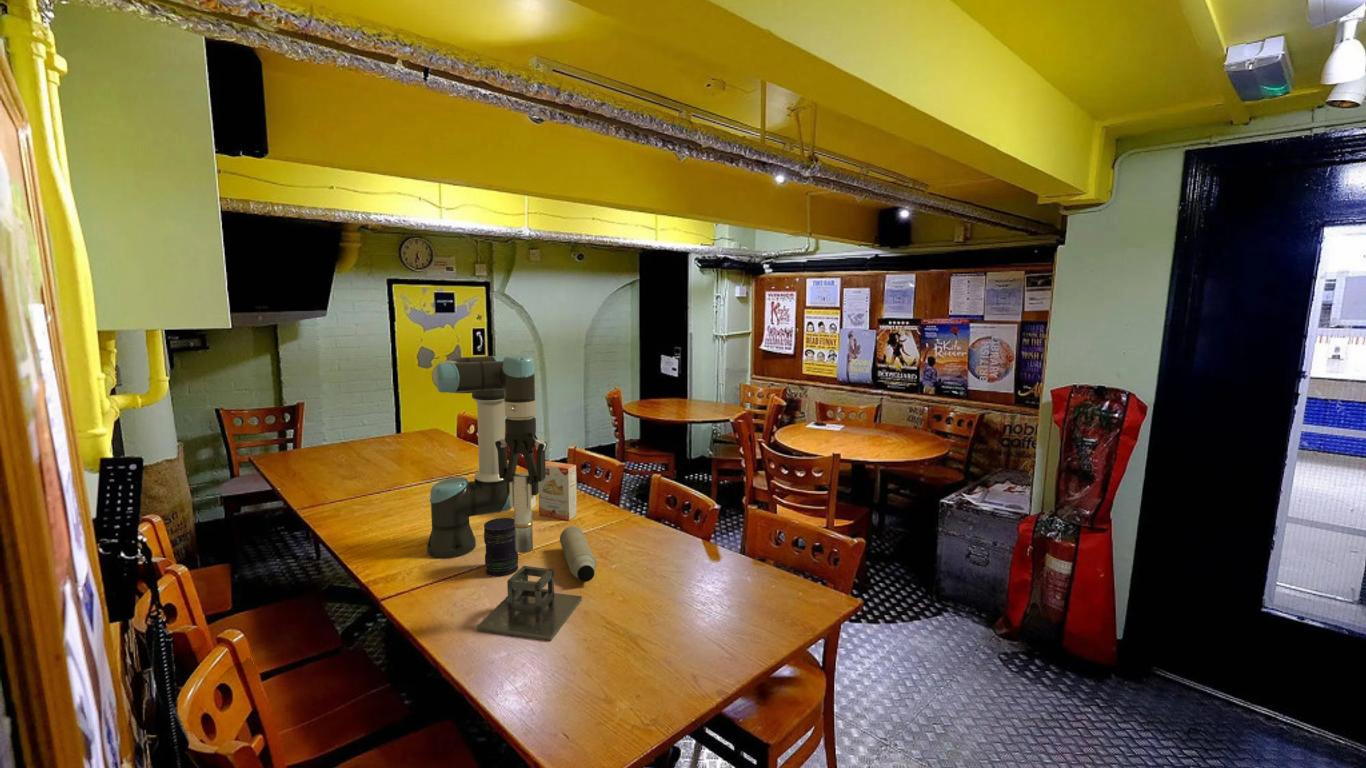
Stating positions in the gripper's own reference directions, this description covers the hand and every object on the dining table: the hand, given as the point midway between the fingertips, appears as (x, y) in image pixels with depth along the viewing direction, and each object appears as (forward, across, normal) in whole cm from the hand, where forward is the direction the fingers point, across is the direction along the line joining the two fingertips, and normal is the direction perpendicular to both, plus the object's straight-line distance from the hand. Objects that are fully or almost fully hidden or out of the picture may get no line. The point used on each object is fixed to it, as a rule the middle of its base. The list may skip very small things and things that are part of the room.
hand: (523, 506), depth 148 cm
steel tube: (+12, 0, 0) cm, 12 cm away
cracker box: (+30, -23, +68) cm, 78 cm away
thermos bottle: (+26, -6, +42) cm, 50 cm away
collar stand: (+30, +1, +1) cm, 30 cm away
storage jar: (+30, -20, +22) cm, 43 cm away
